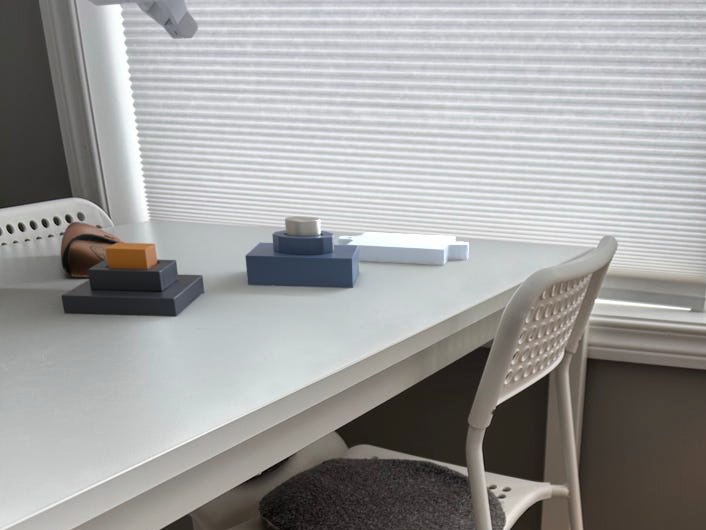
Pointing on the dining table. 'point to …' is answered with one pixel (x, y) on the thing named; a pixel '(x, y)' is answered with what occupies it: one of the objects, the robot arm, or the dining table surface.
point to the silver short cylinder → (302, 226)
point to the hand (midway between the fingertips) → (187, 34)
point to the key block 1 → (134, 291)
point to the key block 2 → (303, 262)
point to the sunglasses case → (84, 248)
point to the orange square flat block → (131, 255)
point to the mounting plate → (407, 248)
